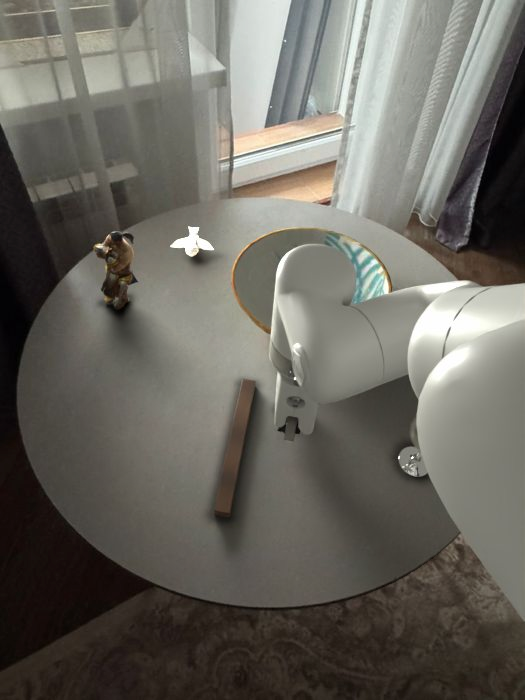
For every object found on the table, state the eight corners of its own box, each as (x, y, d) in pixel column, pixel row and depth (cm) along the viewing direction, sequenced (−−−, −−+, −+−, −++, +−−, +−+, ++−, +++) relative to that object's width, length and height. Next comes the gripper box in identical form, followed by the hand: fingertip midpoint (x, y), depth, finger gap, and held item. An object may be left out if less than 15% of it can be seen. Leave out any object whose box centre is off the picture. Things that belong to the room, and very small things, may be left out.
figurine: (147, 292, 86) (134, 221, 74) (144, 317, 83) (130, 247, 71) (105, 292, 85) (85, 220, 74) (101, 317, 82) (79, 247, 70)
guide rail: (229, 517, 63) (229, 513, 62) (214, 514, 63) (213, 510, 62) (255, 386, 75) (255, 380, 74) (242, 384, 76) (242, 378, 74)
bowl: (255, 248, 94) (257, 213, 88) (389, 279, 91) (401, 245, 84) (209, 351, 79) (208, 317, 73) (368, 392, 76) (380, 361, 69)
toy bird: (168, 257, 90) (167, 231, 88) (173, 248, 94) (172, 223, 92) (212, 260, 90) (213, 235, 88) (216, 251, 94) (216, 226, 92)
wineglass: (411, 435, 72) (439, 389, 62) (444, 464, 69) (478, 421, 60) (384, 458, 69) (409, 414, 60) (417, 489, 67) (448, 449, 57)
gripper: (333, 410, 51) (311, 482, 65) (341, 302, 60) (320, 387, 74) (259, 399, 51) (254, 473, 66) (278, 293, 60) (269, 380, 75)
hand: (289, 427), depth 70 cm, fingers closed
